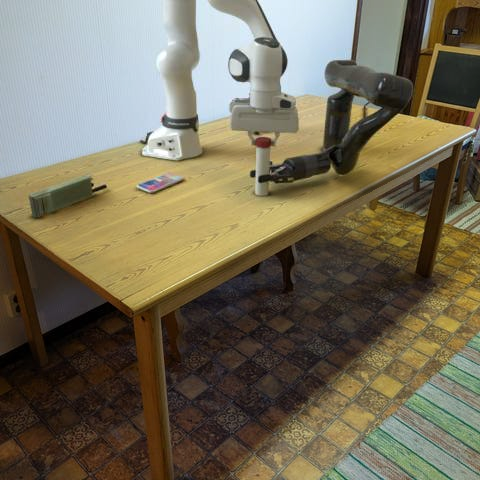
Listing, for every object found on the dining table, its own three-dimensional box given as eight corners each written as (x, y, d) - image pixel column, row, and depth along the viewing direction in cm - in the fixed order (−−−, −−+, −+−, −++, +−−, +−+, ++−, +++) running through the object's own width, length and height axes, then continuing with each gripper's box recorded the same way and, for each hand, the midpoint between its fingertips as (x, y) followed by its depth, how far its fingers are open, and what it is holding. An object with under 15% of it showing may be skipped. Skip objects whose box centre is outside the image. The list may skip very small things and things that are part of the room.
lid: (273, 144, 152) (274, 138, 151) (266, 148, 149) (266, 142, 148) (260, 141, 154) (260, 135, 153) (253, 145, 151) (253, 139, 150)
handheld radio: (30, 215, 144) (102, 188, 161) (37, 219, 142) (109, 191, 159) (26, 193, 140) (100, 168, 157) (33, 197, 138) (107, 171, 155)
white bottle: (268, 196, 157) (270, 143, 149) (254, 195, 158) (256, 143, 149) (268, 190, 161) (270, 139, 153) (255, 190, 161) (257, 138, 153)
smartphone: (184, 177, 167) (150, 191, 157) (184, 180, 167) (151, 194, 157) (168, 171, 171) (134, 185, 161) (168, 174, 171) (135, 188, 161)
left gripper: (227, 100, 143) (227, 147, 150) (300, 103, 141) (297, 150, 148) (230, 95, 148) (230, 140, 155) (300, 97, 147) (297, 143, 153)
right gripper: (288, 149, 166) (243, 158, 159) (314, 163, 155) (267, 173, 148) (287, 171, 170) (242, 180, 162) (312, 186, 159) (266, 196, 152)
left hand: (263, 145), depth 152 cm, fingers closed on lid, 4 cm apart
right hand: (254, 177), depth 155 cm, fingers closed on white bottle, 4 cm apart
